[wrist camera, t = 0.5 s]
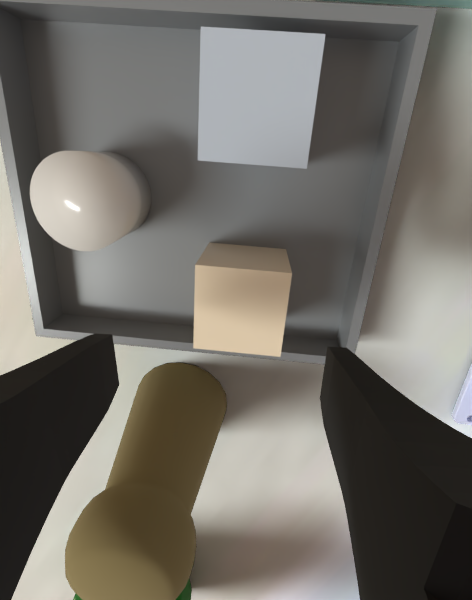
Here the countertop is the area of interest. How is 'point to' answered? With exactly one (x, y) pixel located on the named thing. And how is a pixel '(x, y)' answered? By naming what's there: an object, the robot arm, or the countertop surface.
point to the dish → (419, 2)
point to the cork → (150, 492)
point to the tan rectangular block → (241, 299)
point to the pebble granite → (89, 198)
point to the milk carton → (184, 596)
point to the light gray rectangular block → (257, 95)
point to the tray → (205, 174)
